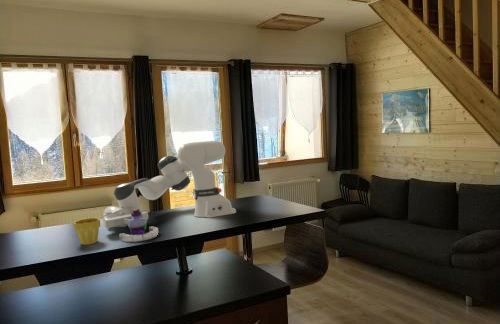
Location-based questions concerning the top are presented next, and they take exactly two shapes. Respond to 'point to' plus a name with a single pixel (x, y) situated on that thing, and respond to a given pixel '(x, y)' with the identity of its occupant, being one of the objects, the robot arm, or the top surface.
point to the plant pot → (87, 230)
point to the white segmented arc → (140, 235)
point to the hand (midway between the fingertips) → (132, 221)
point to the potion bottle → (137, 223)
